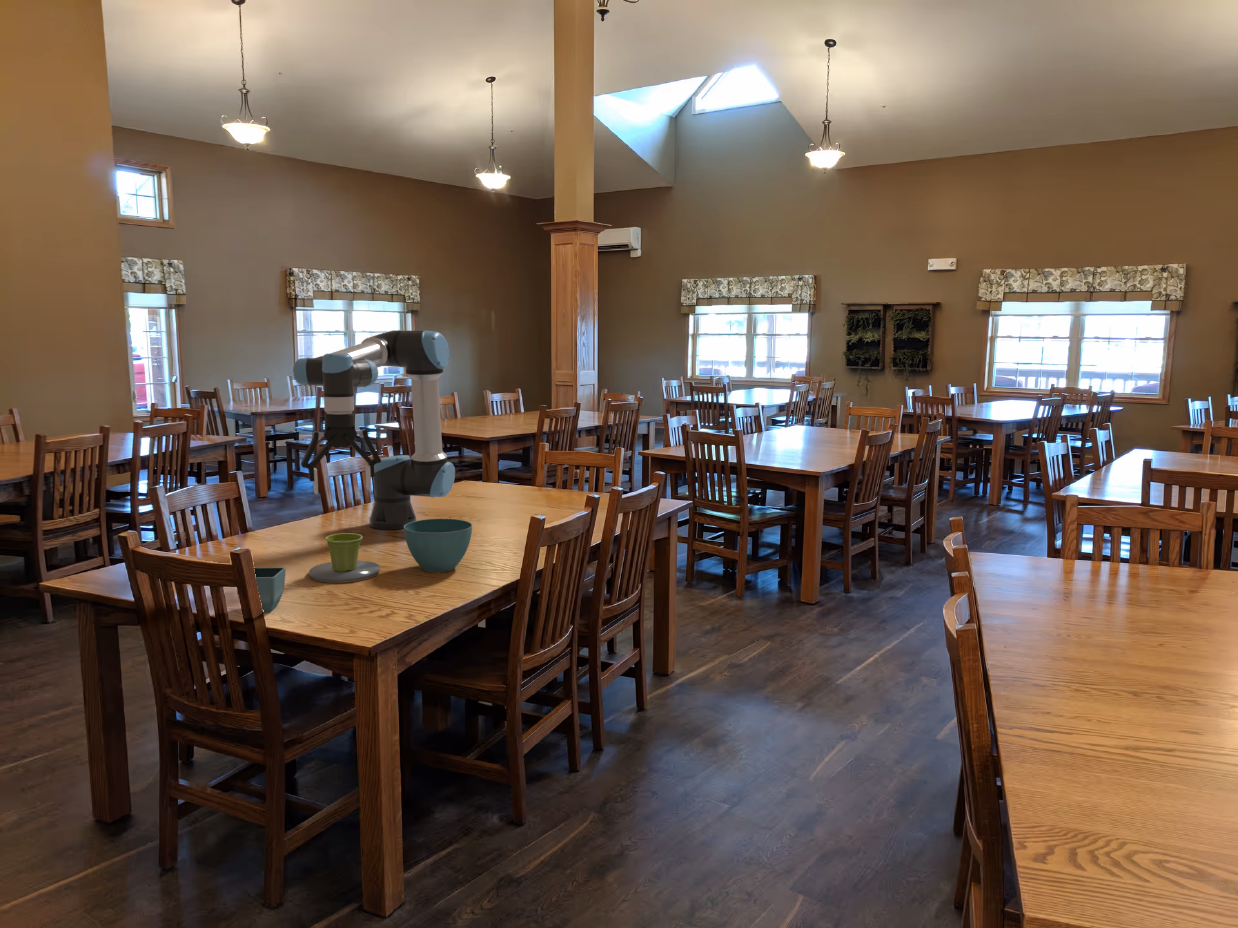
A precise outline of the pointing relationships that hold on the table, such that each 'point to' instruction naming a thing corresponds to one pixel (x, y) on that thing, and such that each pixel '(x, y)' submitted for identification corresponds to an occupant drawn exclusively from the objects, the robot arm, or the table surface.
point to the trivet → (331, 576)
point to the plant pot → (344, 550)
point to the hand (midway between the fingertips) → (342, 491)
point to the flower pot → (270, 586)
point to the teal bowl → (438, 542)
